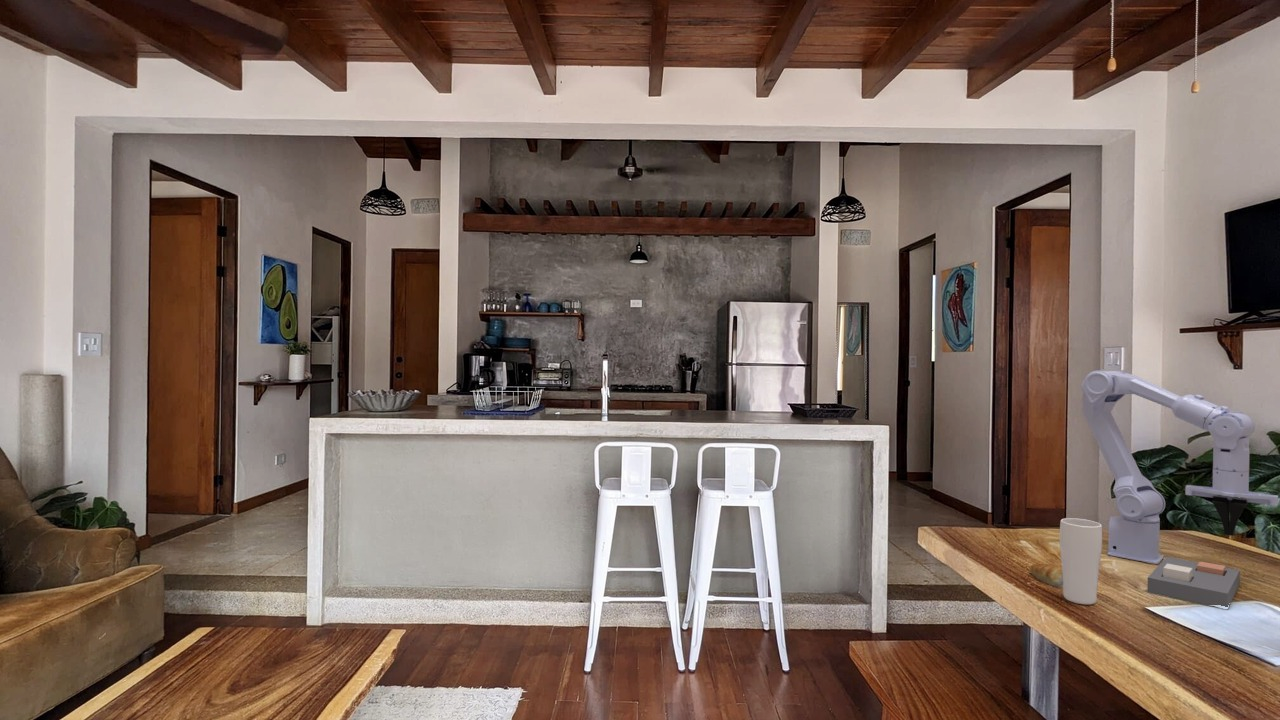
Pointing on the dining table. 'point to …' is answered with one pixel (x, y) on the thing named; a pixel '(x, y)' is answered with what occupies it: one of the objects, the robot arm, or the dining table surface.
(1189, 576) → the white key
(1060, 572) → the pastry
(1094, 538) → the drinking glass
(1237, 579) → the key panel
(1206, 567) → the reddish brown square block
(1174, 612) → the dining table surface
